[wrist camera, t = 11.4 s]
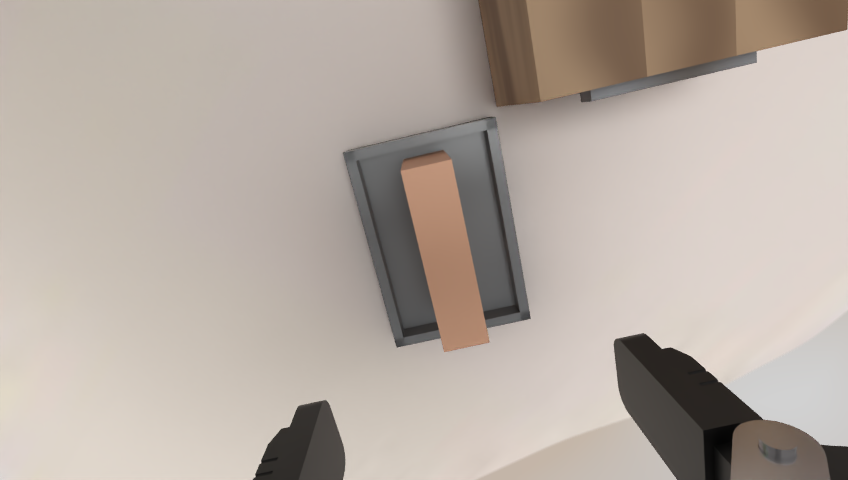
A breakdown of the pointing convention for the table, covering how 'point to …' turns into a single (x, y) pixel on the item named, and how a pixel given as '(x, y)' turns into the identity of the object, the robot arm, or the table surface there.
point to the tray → (483, 216)
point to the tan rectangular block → (444, 249)
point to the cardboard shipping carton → (635, 41)
